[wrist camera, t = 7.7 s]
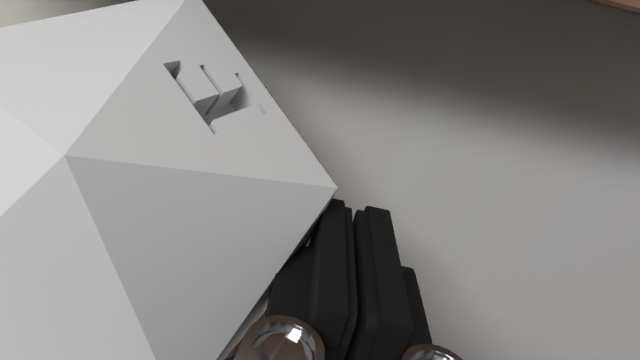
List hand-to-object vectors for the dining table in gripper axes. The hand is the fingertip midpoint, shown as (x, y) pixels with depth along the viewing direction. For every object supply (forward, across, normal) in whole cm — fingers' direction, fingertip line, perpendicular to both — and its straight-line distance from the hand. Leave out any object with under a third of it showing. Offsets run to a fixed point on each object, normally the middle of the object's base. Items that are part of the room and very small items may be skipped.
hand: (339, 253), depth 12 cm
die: (+4, +5, 0) cm, 6 cm away
